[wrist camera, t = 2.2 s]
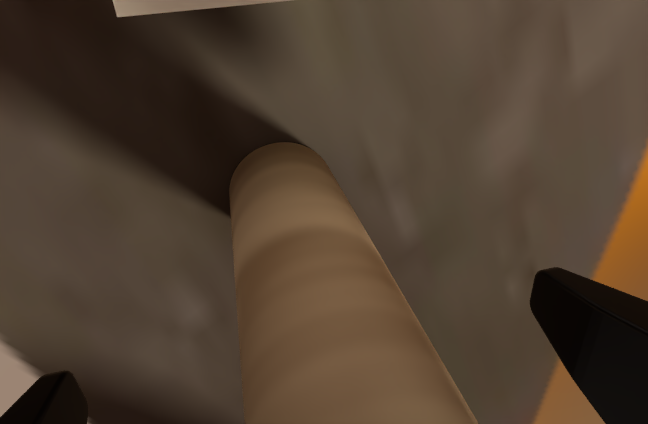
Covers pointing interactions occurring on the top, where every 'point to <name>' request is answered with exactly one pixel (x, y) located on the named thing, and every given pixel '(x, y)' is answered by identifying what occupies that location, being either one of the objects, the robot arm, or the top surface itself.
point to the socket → (175, 5)
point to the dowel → (324, 307)
